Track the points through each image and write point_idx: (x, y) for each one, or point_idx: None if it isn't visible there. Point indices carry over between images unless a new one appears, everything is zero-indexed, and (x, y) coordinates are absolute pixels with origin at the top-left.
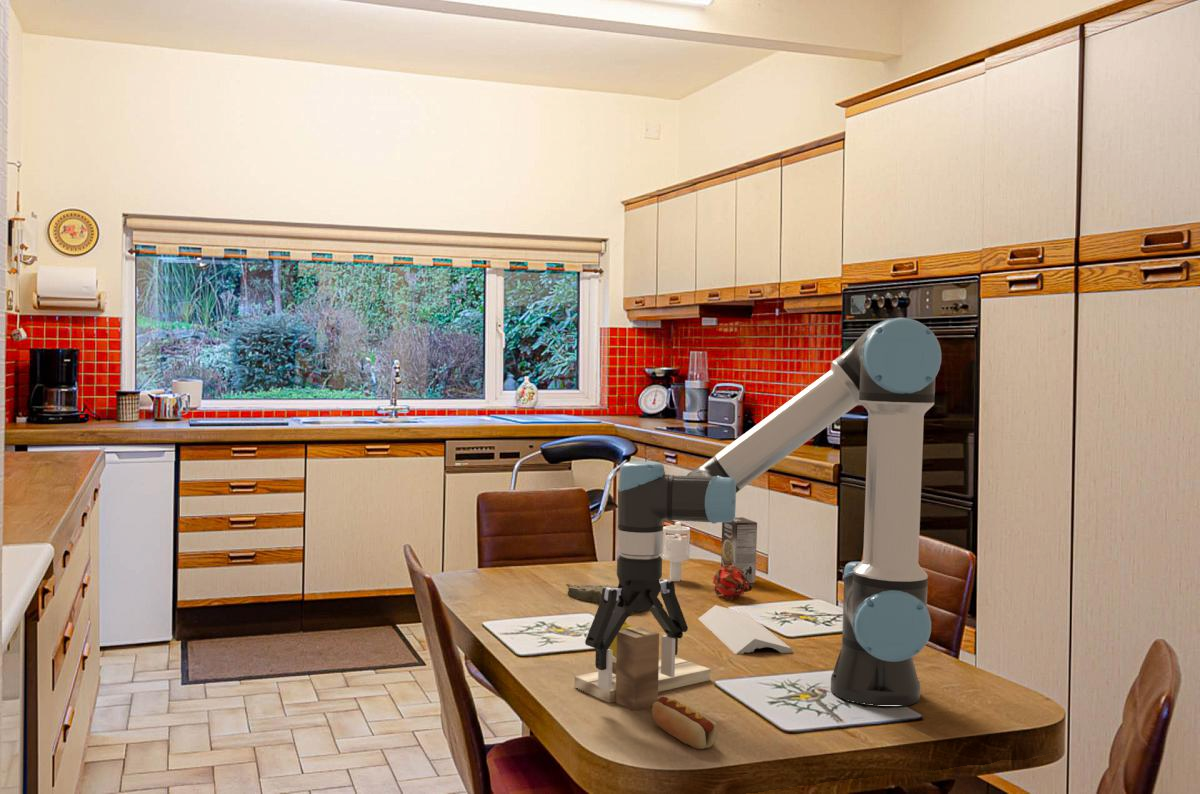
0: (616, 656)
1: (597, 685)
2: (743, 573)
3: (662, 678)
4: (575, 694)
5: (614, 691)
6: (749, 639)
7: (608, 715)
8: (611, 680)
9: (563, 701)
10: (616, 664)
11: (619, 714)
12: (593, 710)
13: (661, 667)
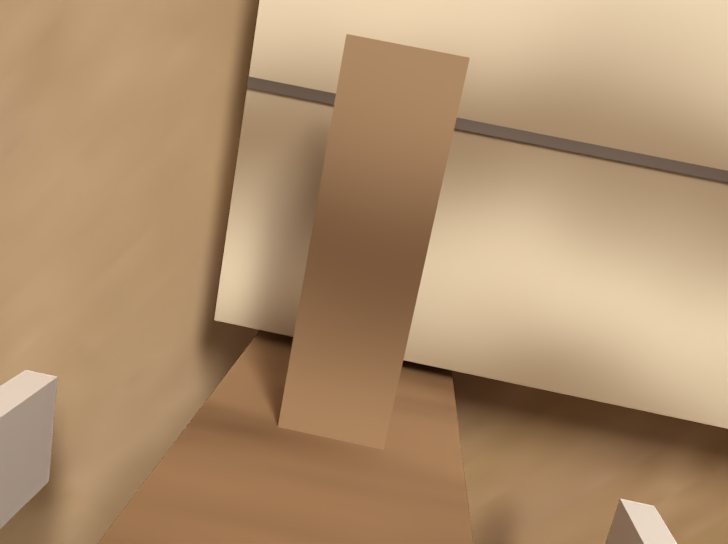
0: (163, 457)
1: (239, 176)
2: None
3: (710, 404)
4: (198, 20)
5: (255, 325)
6: None
7: (83, 422)
8: (3, 520)
9: (44, 68)
10: (190, 422)
11: (140, 453)
12: (75, 313)
13: (634, 532)
